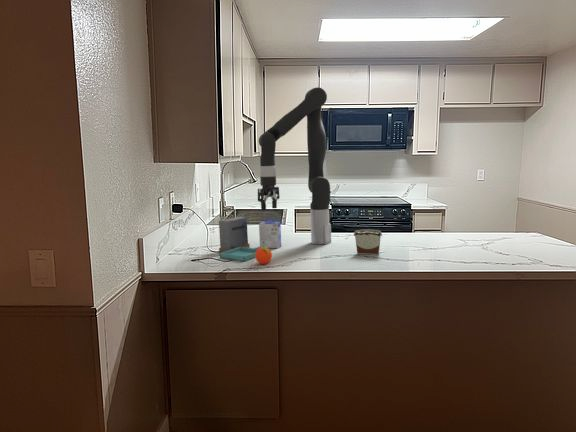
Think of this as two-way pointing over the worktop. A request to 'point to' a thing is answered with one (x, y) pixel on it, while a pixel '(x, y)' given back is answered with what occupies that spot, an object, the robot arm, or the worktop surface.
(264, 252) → the clementine
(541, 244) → the worktop surface
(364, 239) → the food container
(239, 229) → the printer unit
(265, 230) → the ink cartridge box
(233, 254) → the tray
